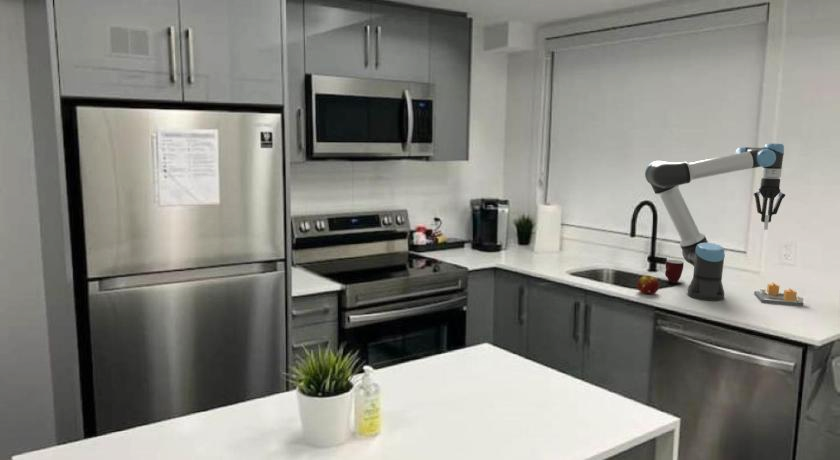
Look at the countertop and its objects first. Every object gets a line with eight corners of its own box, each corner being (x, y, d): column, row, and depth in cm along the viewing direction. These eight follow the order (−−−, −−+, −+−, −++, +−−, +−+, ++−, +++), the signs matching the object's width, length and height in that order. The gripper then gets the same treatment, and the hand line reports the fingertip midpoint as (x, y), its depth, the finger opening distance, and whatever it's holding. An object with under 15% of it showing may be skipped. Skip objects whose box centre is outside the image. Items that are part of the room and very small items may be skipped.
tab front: (785, 300, 262) (786, 289, 261) (783, 298, 264) (784, 287, 264) (795, 301, 260) (797, 290, 260) (793, 299, 263) (794, 288, 262)
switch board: (761, 302, 264) (762, 295, 263) (754, 294, 277) (754, 286, 276) (803, 306, 259) (804, 298, 258) (793, 297, 272) (794, 290, 272)
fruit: (649, 297, 270) (650, 280, 268) (632, 292, 277) (633, 275, 276) (662, 294, 275) (663, 277, 273) (645, 289, 282) (646, 272, 281)
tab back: (768, 294, 271) (769, 283, 271) (766, 292, 274) (767, 282, 273) (778, 294, 270) (779, 284, 269) (776, 293, 273) (777, 282, 272)
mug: (675, 285, 290) (677, 265, 289) (658, 281, 296) (660, 262, 294) (684, 281, 297) (686, 261, 296) (668, 278, 303) (670, 259, 301)
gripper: (756, 177, 271) (751, 229, 276) (789, 179, 268) (783, 231, 272) (753, 176, 279) (747, 226, 283) (784, 177, 275) (778, 228, 279)
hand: (764, 229), depth 277 cm, fingers closed
